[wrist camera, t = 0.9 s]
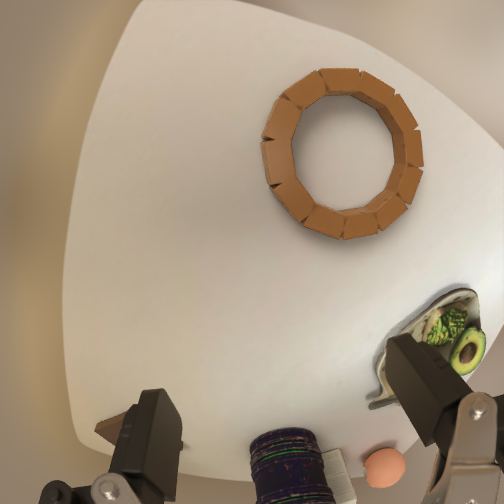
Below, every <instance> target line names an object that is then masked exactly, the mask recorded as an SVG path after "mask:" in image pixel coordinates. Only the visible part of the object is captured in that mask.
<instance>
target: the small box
mask: <svg viewBox="0 0 504 504" xmlns="http://www.w3.org/2000/svg"><path fill="white" fill-rule="evenodd" d="M321 455H322V459H323V460H324V474H325V477H326V481H327V484H328V487H330V488H331V490H332V492H333V496H334V499H335V501H336V504H356V503H357V496H356V493H355V491H354V488H353V485H352V482H351V479H350V477H349V474H348V471H347V468H346V465H345V463H344V460H343V457H342V454H341V451H340V449H339V448H338V449H335V450H332V451H329V452H326V453H322V454H321Z"/></svg>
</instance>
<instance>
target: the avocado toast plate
mask: <svg viewBox="0 0 504 504" xmlns="http://www.w3.org/2000/svg"><path fill="white" fill-rule="evenodd" d="M405 332H408V333H410V334H411V335H412V337H413V338H414V339H415V340H416V341H417V342H420V341H425V342H427V343H428V344H430V345H432V346H434V347H435V348H436V349H437V350H438V351H439V352H440V353H441V355H442V357H444V358H445V359H446V360H447V361H448V363H449V365H451V366H452V367H453V368H454V369H455V371H456V372H457V373H458V374H459V375H460V376H462V375H466V374H468V373H470V372H472V371H473V370H474V369H475V368H476V367H477V366H478V365H479V363H480V362H481V360H482V357H483V355H484V352H485V347H486V337H485V333H484V332H483V331H482V329H481V323H480V310H479V301H478V296H477V294H476V292H475V291H474V290H472V289H468V288H459V289H455V290H452V291H450V292H448V293H447V294H444V295H442V296H441V297H439V298H438V299H437V300H435V301H434V302H433V303H432V305H431V306H430V307H429V308H428V309H426V310H425V311H423V312H422V313H421V314H420V315H419V316H418V317H417V318H415V319H414V320H413V321H412V322H411V323H410V324H409V325H408V326H407V327H406V328H405V329H403V330H402V331H401V332H400V333H399V334H398V335H400V334H403V333H405ZM385 359H386V348H385V350H384V351H383V353H382V355H381V356H380V359H379V361H378V363H377V365H376V374H377V376H378V380H379V382H380V384H381V386H382V394H381V395H380V396H379V397H378V398H377V399H376V400H374V401H372V402H371V403H370V405H369V409H370V410H373V409H377V408H380V407H383V406H386V405H389V404H392V403H394V404H396V405H399V406H401V404H400V402H399V401H398V399H397V397H396V396H395V394H394V392H393V391H392V389H391V388H390V386H389V384H388V382H387V380H386V376H385Z"/></svg>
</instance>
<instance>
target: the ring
mask: <svg viewBox="0 0 504 504" xmlns="http://www.w3.org/2000/svg"><path fill="white" fill-rule="evenodd" d="M394 92H395V89H393V88H392V87H390V86H389V85H387V84H385V83H384V82H382V81H381V80H379V79H377V78H376V77H374V76H372V75H370V74H369V73H367V72H365V71H361V72H360V73H359V69H348V68H326V69H320V70H319V71H316V70H315V71H313V72H312V73H310V74H309V75H307V76H306V77H304V78H303V79H301V80H300V81H298V82H297V83H295V84H294V85H293V86H291V87H290V88H288V89H287V90H285V91H284V92H283V93H282V94H281V95H280V96H279V98H278V99H277V100H276V101H275V103H274V106H273V108H272V111H271V113H270V116H269V118H268V121H267V123H266V126H265V128H264V131H263V133H262V136H261V137H262V138H264V139H267V140H270V141H264V142H261V149H262V155H263V161H264V167H265V173H266V179H267V182H268V183H269V184H270V185H272V186H270V189H271V190H272V191H273V193H274V194H275V195H276V196H277V198H278V199H279V200H280V201H281V202H282V204H283V205H284V206H285V207H286V209H287V210H288V211H289V212H290V214H291V215H292V216H293V217H294V218H295V219H296V220H297V221H298V222H299V223H301V224H302V225H303V226H304V227H307V228H309V229H312V230H315V231H317V232H320V233H323V234H325V235H328V236H330V237H333V238H336V239H339V238H340V237H341V238H342V239H343V240H346V239H352V238H357V237H362V236H367V235H372V234H377V233H378V229H379V230H381V231H383V230H384V229H386V228H387V227H388V226H389V225H390V224H391V223H392V222H394V221H395V220H396V219H397V218H398V217H399V216H400V215H401V214H403V213H404V212H405V211H406V210H407V209H408V208H407V206H406V204H405V203H408V204H411V203H412V200H413V198H414V195H415V192H416V190H417V187H418V184H419V182H420V179H421V176H422V173H423V171H422V170H420V169H419V168H417V167H423V166H424V163H423V151H422V141H421V133H420V130H413V129H415V128H416V127H417V126H418V124H417V122H416V120H415V118H414V117H413V115H412V113H411V112H410V110H409V108H408V107H407V105H406V104H405V102H404V100H403V99H402V97H401V96H400V94H395V95H394ZM334 95H351V96H353V97H355V98H357V99H359V100H361V101H363V102H364V103H366V104H368V105H370V106H371V107H373V108H375V109H376V110H377V111H378V113H379V114H380V116H381V118H382V119H383V121H384V122H385V124H386V125H387V127H388V128H389V130H390V132H391V133H392V139H393V148H394V157H395V165H394V167H393V170H392V173H391V175H390V178H389V181H388V183H387V186H386V188H385V190H384V191H383V192H382V193H380V194H379V195H378V196H377V197H376V198H374V199H373V200H372V201H371V202H370V203H369V204H367V205H366V206H365V207H362V208H355V209H349V210H343V211H335V210H333V209H330V208H328V207H326V206H323V205H321V204H318V203H316V202H315V201H314V200H313V199H312V197H311V196H310V195H309V193H308V192H307V191H306V189H305V188H304V187H303V185H302V184H301V183H300V182H299V180H298V179H297V178H296V174H295V167H294V160H293V154H292V147H291V140H292V137H293V135H294V132H295V130H296V127H297V124H298V122H299V119H300V117H301V114H302V112H303V110H304V109H306V108H307V107H308V106H310V105H311V104H312V103H314V102H315V101H317V100H318V99H320V98H321V97H322V96H334Z"/></svg>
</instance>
